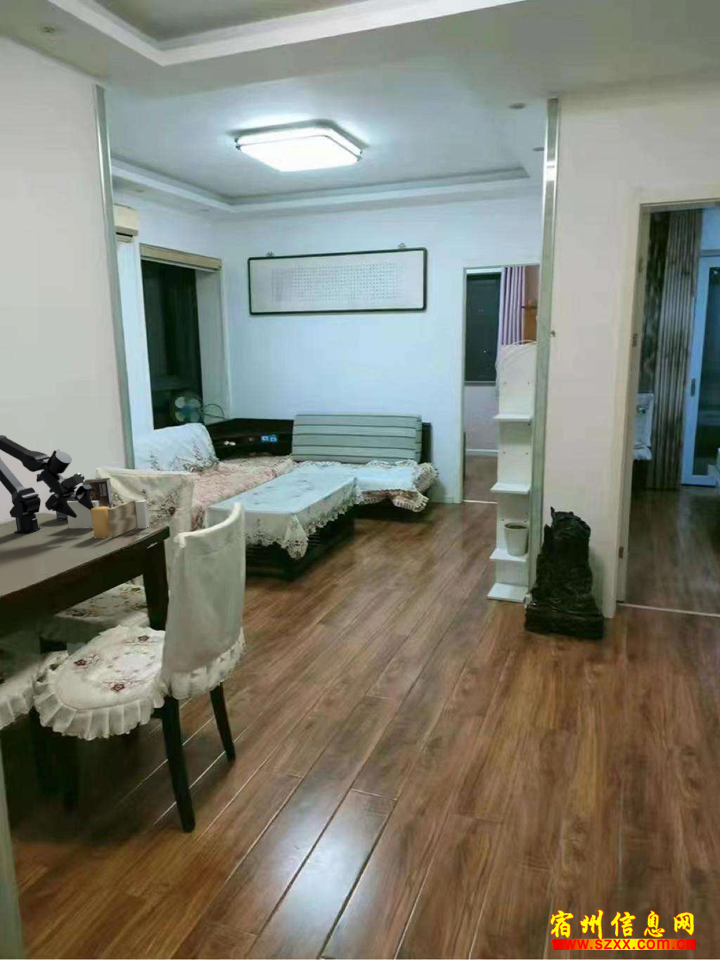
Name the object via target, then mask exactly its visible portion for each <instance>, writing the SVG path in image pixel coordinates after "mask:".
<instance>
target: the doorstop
mask: <svg viewBox="0 0 720 960" xmlns="http://www.w3.org/2000/svg"><path fill="white" fill-rule="evenodd" d="M107 509H109V507H96V508H92V509H91V515H92V523H93V528H92V530H93V538H94V537H96V538H95V539H98V538H100V539H103V538H102V537H107V536H110V527H109V519H108V510H107ZM110 537H111V536H110ZM107 538H108V537H107Z"/></svg>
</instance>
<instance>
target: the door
mask: <svg viewBox="0 0 720 960" xmlns="http://www.w3.org/2000/svg"><path fill="white" fill-rule="evenodd" d="M135 502H136V500H135V499H133V500H132V499H131V500H129V501H125V502H123V503H121V504H118V505H116V506H113V507H112V508H110V509H107V510H108V519H109V527H110V538H116V537H118V535H119V536H120V535H123V534H125V533H127V532H129V531H132V530H134V529H136V528H137V529H138V524H137V514H136V505H135Z"/></svg>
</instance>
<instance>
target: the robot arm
mask: <svg viewBox="0 0 720 960" xmlns="http://www.w3.org/2000/svg"><path fill="white" fill-rule="evenodd" d="M0 450H1V451H2V452H4V453H5V454H8V455H9V456H11V457H12V458H14V459H16V460H18V461H20V462H21V464H22V467H24V468H25V469H27V470H28V471H29V472H31V473H35V472H39V471H40V473H38V474H36V478H35V479H36V482H37V483H39V482H44V483H45V485H47V487H48V488H49V490H48V491H49V494H51V495H49V497H48V499H46V501H45V502H44V504H45V505H44V506H45V508H46V509H47V510H48V511H52V512H56V511H57V512H60V513H63V514H66V515H68V516H71V517H73V518H76V517H77V515H76V513H75V512H74V511H73V510H72V508H71V507H70V506H69V505H68V503H67V500H68V499H71V498H75V499H76V500H79V501H78V502H79V503H80V504H82V505H83V506H85V507H86V508H88V509H89V510H91V509H92V508H94V506H93V504H92V501H91V499H90V493H91V490H92V489H93V488H92V487H91V486H90V485H89V484H85V485H83V484H82V483H83V482H84V481H85V480H86V479H85V475H84V474H83V473H81V472H76V473H74V474H73V475H71V476H70V477H63V476H62V475H61V474H63V473H65V472H66V470H67V469H68V467H69V466H70V464H72V462H73V459H72V456H71V455H70V454H68V453H66V452H64V451H61V450H60V449H55V450H53V451H52V453H51V455H50V456H48V454H46V453H44V452H41V451H36V450H30V449H28V448H26V447H25V446H23V445H21V444H19V443H17V442H16V441H13V440H11V439H10V438H8V437H7V436H6V435H3V434H1V435H0ZM0 482H1V484H2V485H3V486H4V487H5V489H6V490H7V491H8V492H9V493H10V495H11V503H12V505H13V506H12V508H11V509H10V510H9V515H10V517H11V518H15V524H16V530H15V531H14V532H13V533H14V534H32V533H33V532H36V531H38V530H39V531H40V530H41V527H40V526H39V521H38V518H37V515H36V514H37V513H38V514H39V512H40V510H41V509H40V508H41V504H42V503H41V498H40V494H38V492H36V490H35V489H34V488H33V487H31V486H30V487H25V486H23V484H22V483H21V482H20V481H19V479H18V478H17V477H16V475H15V474H14V473H13V472H12V470H10V468H9V467H8V466H7V465H6V464H5V462H4V461H3V459H2V458H1V457H0ZM81 484H82V485H81ZM78 485H79V487H78Z"/></svg>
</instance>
